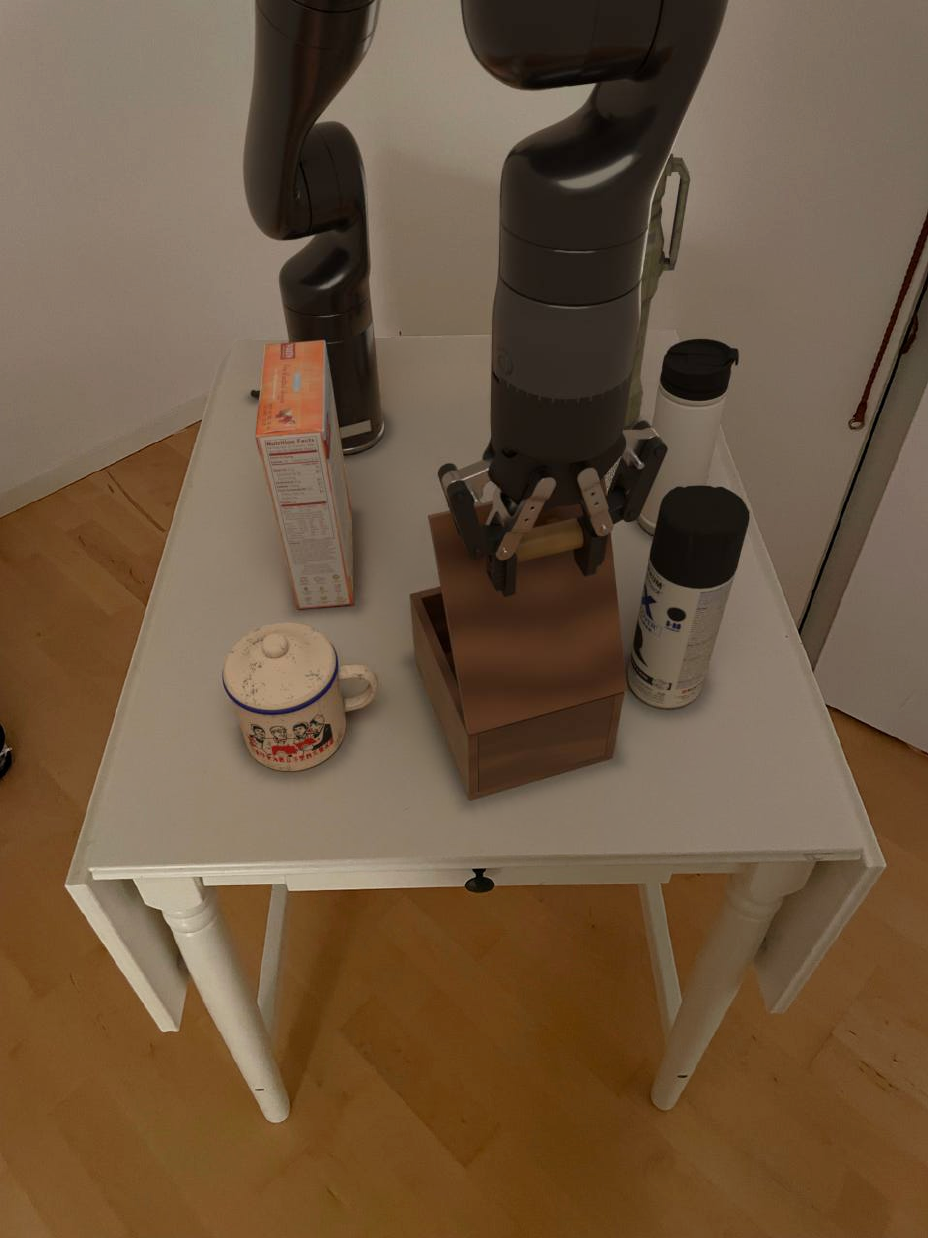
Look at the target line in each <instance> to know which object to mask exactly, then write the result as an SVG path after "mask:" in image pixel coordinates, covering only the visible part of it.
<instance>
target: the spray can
mask: <svg viewBox="0 0 928 1238" xmlns="http://www.w3.org/2000/svg"><path fill="white" fill-rule="evenodd" d="M750 519H751V517H750V510H749V508H748V506H747V504H746V502H745V501H744V500H743V498H741V497H740V496H739V495H738V494H737V493H735V492H733V491H731V490H730V489H727V488H726V487H724V486H716V487H715V486H711V485H706V486H703V485H697V486H687V487H685V488H684V487H682V486H677V487H676V488H674V489H672V490H670V491H669V492H668V493H667V494H666V495H665V496H664V498H663V499H662V502H661V504H660V508H659V513H658V518H657V523H656V527H655V532H654V535H652V541H651V545H650V549H649V554H648V555H649V556H648V559H647V560H648V561H647V566H646V572H645V577H644V583H643V589H642V593H641V599H640V604H639V608H638V614H637V620H636V625H635V630H634V635H633V640H632V644H631V651H630V655H629V661H628V667H627V681H628V685H629V687H630V690H631V691H632V692H633V694H634V695H635V697H636V698H637V699H638V700H640V701H642V702H643V703H644V704H646V705H648V706H650V707H652V708H656V709H660V710H678V709H681V708H685V707H687V706H688V705H690V704H692V703H693V702H694V701H695V700H696V699H697V697H698V696H699V694H700V693H701V691H702V690H703V686H704V682H705V679H706V676H707V672H708V669H709V665H710V661H711V659H712V654H713V651H714V648H715V645H716V641H717V638H718V635H719V632H720V627H721V624H722V621H723V617H724V613H725V610H726V607H727V603H728V600H729V596H730V593H731V589H732V586H733V583H734V579H735V575H736V572H737V570H738V567H739V563H740V558H741V554H742V550H743V546H744V542H745V539H746V535H747V531H748V527H749V524H750Z"/></svg>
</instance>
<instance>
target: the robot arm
mask: <svg viewBox="0 0 928 1238" xmlns="http://www.w3.org/2000/svg"><path fill="white" fill-rule="evenodd" d="M459 5H460V13H461V21H462V28H463V32H464V35H465V39H466V42H467V44H468V47H469V49H470V52H471V54H472V56H473V57H474V59H475V60H476V62H477V63H478V64H479V66H481V68H482V69H483V70H484V71H485V72H486V73H487V74H488V75H489V76H491V77H492V78H493V79H495V80H496V81H498V82H499V83H501V84H503V85H504V86H506V87H509V88H511V89H515V90H518V91H524V92H525V91H526V92H539V91H547V90H548V91H549V90H556V89H557V90H558V89H564V88H569V87H570V88H571V87H577V86H578V87H579V86H585V85H594V86H593V88H592V89H591V92H590V93H589V95H588V97H587V99H586V100H585V102H584V103H583V104H582V105H581V106H580V107H579V108H577V110H576V111H574V112H573V113H572V114H570V115H569V116H566V117H565V118H563V119H562V120H559V121H557V122H555V123H552V124H551V125H549V126H546V127H544V128H541V129H538V130H537V131H535V132H533V133H531V134H529V135H527V136H526V137H524V138H523V139H521V140H520V141H518V142H517V143H516V144H514V145H513V146H512V147H511V148H510V150H509V151H508V153H507V154H506V157H505V159H504V161H503V164H502V167H501V171H500V172H501V173H500V180H499V197H498V198H499V199H498V216H499V217H498V218H499V219H498V258H497V259H498V260H497V261H498V264H497V265H498V267H497V279H496V285H495V291H494V297H493V302H492V313H491V314H492V315H491V349H490V351H491V354H490V355H491V356H490V358H491V359H490V414H489V415H490V417H489V419H490V422H489V423H490V439H489V442H488V445H487V446H486V448H485V450H484V451H483V454H482V458H481V460H479V461H477V462H473V463H471V464H469V465H467V466H464V467H462V468H460V469H459V468H458V467H457V465H456V464H455V463H452V462H449V463H448V462H447V463H445V464H443V465H441V466H440V467H439V468H438V470H437V478H438V481H439V483H440V486H441V489H442V493H443V494H444V497H445V500H446V503H447V507H448V511H449V510H450V513H451V516H452V518H453V521H454V524H455V527H456V530H457V532H458V534H459V536H460V537H461V539H462V541H463V543H464V545H465V548H466V551H467V553H468V555H469V557H470V558H471V559H473V560H477V559H481V558H482V557H484V556H485V555H486V554H487V560H486V561H487V562H486V565H487V566H486V572H487V575H488V577H489V579H490V581H491V583H492V585H493V587H494V588H495V590H496V591H500V590H501V592H502V594H503V596H504V597H507V596H511V595H515V593H516V574H517V556H516V554H515V550H516V548H517V546H518V544H519V542H520V540H521V538H522V536H523V534H528V533H529V532H530V531H531V529H532V527H533V525H534V523H535V521H536V519H537V517H538V515H539V513H540V512H545V511H547V510H549V509H552V508H554V507H556V506H570V505H575V504H579V506H580V508H581V510H582V512H583V516H578V518H577V520H578V521H579V523H580V525H581V528H582V531H583V538H584V542H583V546H582V547H581V548H578V549H574V559H575V562H576V563H577V565H578V567H579V568H580V570H581V572H582V574H583V575H584V576H585V577H586V576H590V575H594V574H596V570H597V566H599V565H601V564H602V562H603V561H604V559H605V552H606V545H607V539H608V534H609V533H610V532H611V533H612V531H613V529H614V526H615V524H618V523H619V522H621V521H623V522H624V523H632V522H635V521H636V520H638V517H639V516H640V514H641V511H642V509H643V507H644V504H645V502H646V500H647V497H648V495H649V493H650V490H651V488H652V486H653V483H654V481H655V479H656V477H657V474H658V472H659V470H660V467H661V465H662V463H663V460H664V458H665V456H666V453H667V451H668V447H667V445H666V444H665V443H664V442H663V440H662V439H661V438H660V436H659V435H658V434H657V433H656V431H655V430H654V429H653V427H652V424H651V423H650V422H649V421H648V420H643V419H642V420H640V421H637V422H636V424H635V425H634V426H633V428H632V430H624V427H625V421H626V414H627V408H628V401H629V394H630V387H631V381H632V374H633V368H634V361H635V354H636V349H637V345H638V341H639V328H640V318H641V280H642V271H643V265H644V258H645V251H646V244H647V237H648V230H649V223H650V216H651V207H652V201H653V197H654V194H655V190H656V187H657V185H658V182H659V180H660V177H661V175H662V173H663V170H664V168H665V165H666V163H667V161H668V158H669V156H670V154H672V151H673V149H674V146H675V143H676V141H677V138H678V135H679V133H680V130H681V128H682V125H683V124H684V122H685V118H686V117H687V114H688V112H689V109H690V107H691V105H692V102H693V100H694V98H695V94H696V92H697V90H698V87H699V85H700V82H701V80H702V79H703V76H704V74H705V71H706V68H707V66H708V65H709V62H710V59H711V57H712V54H713V52H714V49H715V47H716V44H717V41H718V38H719V36H720V33H721V30H722V27H723V23H724V20H725V15H726V12H727V8H728V5H729V0H459ZM381 6H382V0H254V55H253V56H254V58H253V75H252V76H253V77H252V87H251V95H250V102H249V109H248V116H247V123H246V128H245V137H244V145H243V152H242V153H243V155H242V175H243V176H242V177H243V179H242V181H243V189H244V194H245V199H246V204H247V207H248V211H249V213H250V215H251V218H252V220H253V222H254V224H255V225H256V227H257V228H258V229H259V230H260V232H261V233H262V234H263V235H264V236H266V237H268V239H271V240H275V241H279V242H283V241H284V242H286V241H297V240H301V239H304V238H308V237H312V236H313V237H312V239H310V241H309V242H308V243H306V245H305V246H303V247H302V248H301V249H300V250H299V251H297V252H296V253H295V254H294V255H292V256H291V257H289V259H287V260H286V261H285V263H284V264H283V265H282V266H281V268H280V270H279V273H278V287H279V292H280V299H281V305H282V309H283V310H282V311H283V314H284V321H285V326H286V332H287V338H288V343H295V342H306V341H318V340H325V343H326V349H327V355H328V361H329V367H330V373H331V380H332V386H333V393H334V399H335V406H336V412H337V419H338V425H339V432H340V438H341V445H342V451H343V455H351V454H356V453H359V452H362V451H363V452H364V451H365V450H367V449H369V448H371V447H373V446H375V444H377V443H378V442H379V441H380V440H381V438H382V437H383V435H384V432H385V422H384V418H383V410H382V409H383V408H382V398H381V397H382V395H381V387H380V378H379V368H378V367H379V366H378V356H377V348H376V337H375V327H374V317H373V308H372V296H371V286H370V277H371V276H370V275H371V268H372V261H371V259H372V258H371V247H370V244H371V243H370V225H369V223H370V221H369V198H368V183H367V176H366V169H365V164H364V160H363V156H362V153H361V150H360V146H359V145H358V142H357V140H356V138H355V136H354V134H353V133H352V132H351V131H350V129H349V128H348V127H347V126H346V125H345V124H343V123H342V122H340V121H337V120H326V121H322V122H317V121H318V120H319V118H320V117H321V116H322V115H323V113H324V112H325V111H326V110H327V108H328V107H329V106H330V104H331V103H332V102H333V101H334V99H336V97H337V96H338V95H339V93H340V92H341V91H343V89H344V87H345V86H346V85H347V84H348V83H349V81H350V80H351V78H352V77H353V76H354V74H355V73H356V71H357V70H358V68H359V67H360V65H361V64H362V62H363V61H364V60H365V58H366V56H367V54H368V52H369V50H370V48H371V46H372V43H373V40H374V37H375V34H376V32H377V27H378V22H379V17H380V10H381ZM250 396H251V397H253V398H256V399H258V398H260V389H258V390H255V389H252V390H251V391H250ZM617 462H618V464H617V465H616V469H615V472H614V474H613V476H612V479H611V482H610V484H609V486H608V489H607V491H606V492H607V495H606V496H604V493H603V490H602V487H601V485H600V481H601V480H602V479H603V477H605V476H606V475H607V474H608V473H609V472H610V470H611V469H613V467H614V465H615V464H616V463H617ZM491 482H492V483H493V485H495V486H496V488H495V490H494V493H493V495H492V500H493V508H492V510H491V513H490V515H489V517H488V519H487V522H486V524H485V525H481V524H480V523H479V520H478V517H477V514H476V510H475V507H478V506H479V505H480V504H481V503H482V501H481V499H482V498H483V495H484V492H483V491H484V490H483V489H484V488H485V486H486V485H487V484H488V483H491Z"/></svg>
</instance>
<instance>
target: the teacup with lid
mask: <svg viewBox="0 0 928 1238" xmlns="http://www.w3.org/2000/svg"><path fill="white" fill-rule="evenodd" d="M222 668H223V669H222V672H221V673H222V674H221V676H222V677H221V678H222V679H221V680H222V685H223V689H224V691H225V693H226V694H227V696H228V697H229V698H230V700H231V702H232V705H233V708H234V712H235V715H236V718H237V720H238V723H239V724H238V725H239V727H240V729H241V732H242V736H243V739H244V741H245V745H246V748H247V750H248V751H249V753H250V755H251V756H252V758H254V759H255V760H256V761H257V762H258V763H260V764H261V765H263V766H265V767H267V768H269V769H272V770H276V771H280V772H298V771H303V770H306V769H310V768H313V767H315V766H318V765H319V764H321V763H323V762H325V761H326V760H327V759H328V758H330V757H331V756H332V755H333V754H334V753H335V752H336V751H337V750H338V748H339V747H340V745H341V743H342V742H343V740H344V738H345V734H346V729H347V719H346V718H347V717H346V713H347V712H351V711H355V710H359V709H362V708H364V707H366V706H367V705H368V704H370V703H371V702H372V701H373V700H374V698H375V697H376V696H377V693H378V690H379V679H378V676H377V673H376V672H375V671H374V669H373V668H370V667H368V666H366V665H363V664H344V665H340V666H339V658H338V654H337V651H336V648H335V647H334V644H333V643H332V642H331V641H330V640H329V639H328V637H327V636H326V635H324V633H322V632H320V631H319V630H317V629H316V628H314V627H311V626H309V625H307V624H303V623H298V622H275V623H271V624H267V625H263V626H261V627H258V628H256V629H253V630H252V631H250V632H248V633H247V634H246V635H244V636H242V637H241V638H240V639H239V640H237V642H236V643H235V644H234V645H233V646H232V647H231V648H230V650H229V652H228V654H227V655H226V658H225V660H224V663H223V667H222ZM352 679H359V680H363V681H365V682H367V683H368V684H367V686H366V688H365V689H363V691H361V692H360V693H358V694H356V695H353V696H348V697H343V695H342V691H341V685H340V681H344V680H352Z"/></svg>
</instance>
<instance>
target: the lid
mask: <svg viewBox="0 0 928 1238" xmlns="http://www.w3.org/2000/svg"><path fill="white" fill-rule="evenodd" d="M600 485H601V487H602V490H603V493H604V496H606V495H607V492H608V491H607V483H606V477H605V476H604V477H603V479H602V480H601V481H600ZM492 508H493V499H492V500H489V501H483V502H481V504H480V505H479V506H478V507H475V510H476V514H477V517H478V520H479V523H480V524H481V525H485V524H486V522H487V519H488V517H489V515H490V513H491V510H492ZM578 516H583V512H582V510H581V508H580V506H579V504H575V505H570V506H556V507H554V508H552V509H549V510H547V511H545V512H540V513H539V515H538V517H537V519H536V521H535V523H534V525H533V527H532V529H531V531H530V532H529V533H528V534H523V536H522V538H521V540H520V542H519V544H518V546H517V548H516V550H515V554H516V556H517V574H516V593H515V595H511V596H507V597H504V596H503V594H502V592H501V590H500V591H496V590H495V588H494V587H493V585H492V583H491V581H490V579H489V577H488V575H487V572H486V566H487V565H486V562H487V561H486V560H487V554H486V555H485V556H484V557H482V558H481V559H477V560H473V559H471V558H470V557H469V555H468V553H467V551H466V548H465V545H464V543H463V541H462V539H461V537H460V536H459V534H458V532H457V530H456V527H455V524H454V521H453V518H452V516H451V513H450V510H449V509H448V510H445V511H439V512H436V513H432V514H428V515H427V518H428V524H429V530H430V535H431V536H430V537H431V542H432V546H433V552H434V557H435V565H436V568H437V574H438V580H439V585H440V586H441V592H442V597H443V603H444V608H445V614H446V619H447V625H448V631H449V636H450V642H451V647H452V653H453V659H454V664H455V670H456V675H457V681H458V686H459V692H460V698H461V703H462V709H463V714H464V720H465V726H466V731H467V732H468V734H469V735H472V734H476V733H479V732H483V731H486V730H490V729H494V728H497V727H501V726H504V725H508V724H511V723H515V722H518V721H522V720H525V719H529V718H533V717H536V716H540V715H543V714H547V713H550V712H554V711H557V710H561V709H564V708H568V707H571V706H575V705H579V704H582V703H586V702H589V701H593V700H596V699H600V698H603V697H607V696H610V695H614V694H618V693H621V692H624V693H625V692H627V691H628V683H627V674H626V673H627V672H626V665H625V656H624V655H625V654H624V647H623V645H624V644H623V634H622V627H621V618H620V617H621V616H620V608H619V607H620V605H619V599H618V588H617V579H616V570H615V569H616V568H615V561H614V560H615V559H614V549H613V541H612V539H613V538H612V531H611V532H610V533H609V534H608V539H607V545H606V552H605V559H604V561H603V562H602V564H601V565H599V566H597V570H596V574H594V575H590V576H586V577H585V576H584V575H583V574H582V572H581V570H580V568H579V567H578V565H577V563H576V562H575V559H574V549H578V548H581V547H582V546H583V542H584V538H583V531H582V528H581V525H580V523H579V521H578V520H577V518H578Z"/></svg>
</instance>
